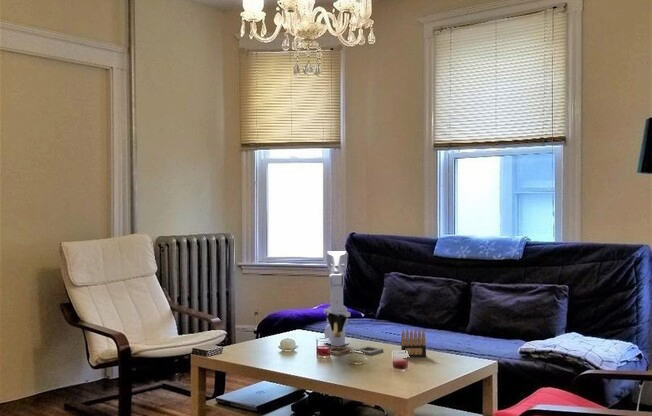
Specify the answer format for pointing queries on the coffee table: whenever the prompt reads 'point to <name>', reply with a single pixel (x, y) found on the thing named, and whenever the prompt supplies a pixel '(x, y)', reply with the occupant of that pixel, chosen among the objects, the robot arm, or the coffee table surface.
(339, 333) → the brass peg
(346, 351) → the rack block
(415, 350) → the ammunition clip
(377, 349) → the socket block
